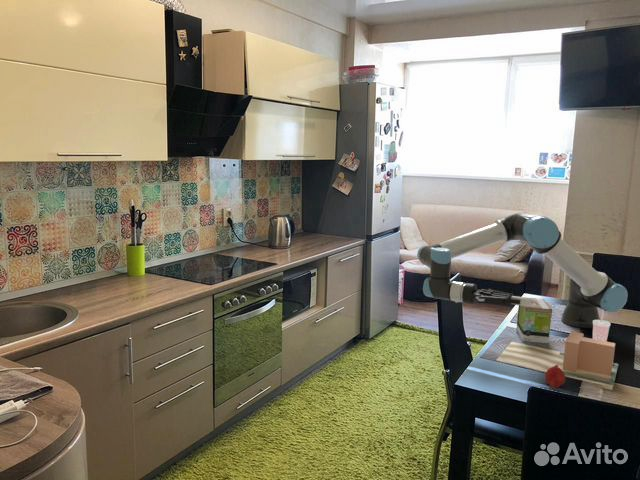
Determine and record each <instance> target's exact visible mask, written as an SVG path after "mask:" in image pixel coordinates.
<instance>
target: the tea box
mask: <svg viewBox="0 0 640 480" xmlns="http://www.w3.org/2000/svg"><path fill="white" fill-rule="evenodd" d="M524 297H525V298H528V297H526V296H524ZM530 298H531V306H530V307H527V306H520V305H518V311H517V320H516V333H517V334H518V336H519V337H520V340H521V341H522V342H527V343H528V342H529V343H542V344H549V341H550V331H551V324H552V314H553V308H552V306H550V304H549V303H548V301H546V300H545V298H537V297H530Z"/></svg>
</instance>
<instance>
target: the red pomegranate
mask: <svg viewBox="0 0 640 480" xmlns="http://www.w3.org/2000/svg"><path fill="white" fill-rule="evenodd" d="M544 380H545V381H546V383H547V384H548V385H549V386H550V387H551V388H552V389H554V390H555V389H558V388H559V387H561V386H563V385H564V384H565V383H566V376H565V374H564V372H563V371H562V370H561V369H560V368H559V367H558V365H555V366H553V367H551V368H550V369H548V370H547V372H545V374H544Z"/></svg>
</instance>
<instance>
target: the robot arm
mask: <svg viewBox="0 0 640 480" xmlns="http://www.w3.org/2000/svg"><path fill="white" fill-rule="evenodd" d="M509 241H519V242H522V243H524V244H526V245H528V246H529V247H530V248H531V249H532V250H533V251H534V252H535V253H537V254H538V255H544V256H546V257H547V258H548V259H549V260H550V261H552V263H554V264H555V266H557V267H558V268H559V269H560V270H562V272H563V273H565V274H566V275H567V276H568V277H569V287H568V288H569V289H568V296H567V297H568V298H567V304H566V306H565V308H564V311H563V313H562V315H561V321H562V322H563V323H564V324H566V325H569V326H572V327H576V328H581V329H593V320H601V318H600V314H599V309H600V310H602V309H603V310H604V312H607V313H615V312H618V311H620V310H621V309H623V308H624V306H625V305H626V303H627V302H628V297H629V295H628V290H627V288H626V287H625V286H623V285H622V284H620V283H616V281H613V280H612V278H611V277H609V276H608V275H607V274H606V273H605V272H601V271H598V270H596V269H595V268H594V267H592V265H591V264H590V263H588V262H587V261H586V260H585V258H583V257H582V256H581V255H579V254H578V252H576V251H575V250H574V249H573V248H572V247H571V246H570V245H569V244H568V243H567V242H566V241H565V240H564V239H563V238H562V232H561V231H560V230H559V227H558V225H557V223H556V222H555V221H554V220H553V219H551V218H549V217H547V216H545V215H539V214H538V215H537V214H535V213H529V212H526V211H525V212H523V211H522V212H517V213H514V214H510V215H508V216H505V217H502V218H500V219H497V220H495V221H494V222H493V223H492V224H489V225H487V226H484V227H481V228H478V229H475V230H473V231H470V232H468V233H464V234H461V235H459V236H456V237H453V238H451V239H448V240H445V241H442V242H439V243H437V244H434V245H423V246H421V247H420V248H419V249H418V250H417V255H416V256H417V259H418V260H419V262H420V263H422V265H425V266H426V267H427V268H429V269H430V270H429V271H430V275H429V277H426V278H425V279H424V282H423V286H422V292H423V295H424V296H426V297H428V298H433V299H439V300H445V301H450V302H455V303H456V304H457V303H464V304H468V305H470V304H471V305H474V304H475V303H476V301H478V302H477V303H478V304H490V305H501V306H508V307H510V306H511V305H516V306H519V305H520V306H527V307H530V306H531V298H532V297H527V298H525V297H526V296H519V295H517V296H516V295H513V292H511V293H509V292H505V291H501V290H494V289H491V288H486V289H485V288H481V289H478V285H477V284H476V283H470V282H463V281H456V280H455V281H454V280H451V270H452V269H451V267H452V259H454V258H457V257H461V256H463V255H465V254H467V253H470V252H474V251H477V250H480V249H482V248H485V247H488V246H491V245H494V244H497V243H499V242H501V243H506V242H509Z"/></svg>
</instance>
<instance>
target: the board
mask: <svg viewBox="0 0 640 480" xmlns="http://www.w3.org/2000/svg"><path fill="white" fill-rule="evenodd" d="M564 352H565V351H564ZM564 352H563V351H559V350H558V351H557V350H553V349H549V348H543V347H539V346H535V345H529V344H526V343H525V344H524V343H520V342H516V341H511V342H510V343H508V345H507V346H506V348H505V349H504V350H503V352H501V354H500V355H499V356H498V357H497V358H496V359H495V361H496V362H501V363H505V364H510V365H515V366H518V367H523V368H527V369H531V370H535V371H541V372H544V373H546V372H547V370H548V369H550V368H551V367H553V366H555V365H558V367H559V368H560V369H561V370H562V371H563V372H564V374H565V378H566V377H567V378H571V379H575V380H580V381H583V382H588V383H592V384H597V385H600V387H601V389H606V390H610V391H613V390H614V389H613V388H614V384H615V381H616V377H617V372H618V369H619V363H617V362H616V363H615V362H613V367H612V373H611V376H609V375H605V374H600V373H596V372H591V371H587V370H582V369H578V368H577V370H576V372H571V371H567V370H563V361H564Z"/></svg>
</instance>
